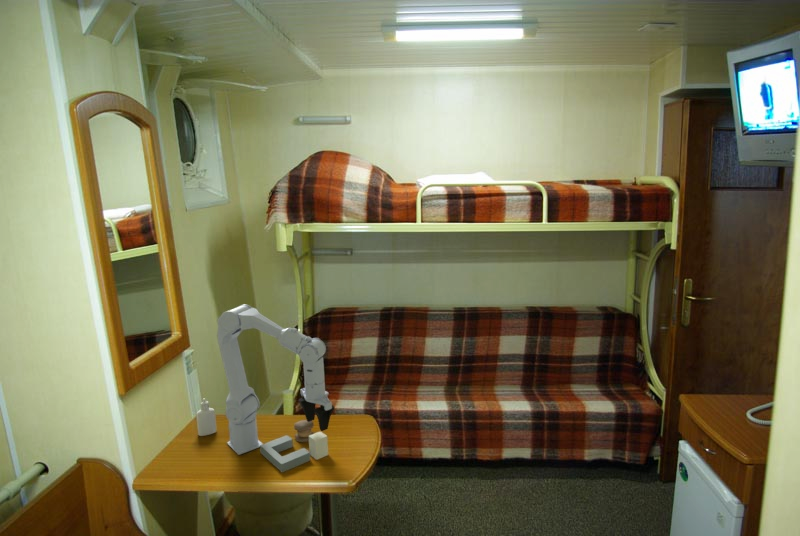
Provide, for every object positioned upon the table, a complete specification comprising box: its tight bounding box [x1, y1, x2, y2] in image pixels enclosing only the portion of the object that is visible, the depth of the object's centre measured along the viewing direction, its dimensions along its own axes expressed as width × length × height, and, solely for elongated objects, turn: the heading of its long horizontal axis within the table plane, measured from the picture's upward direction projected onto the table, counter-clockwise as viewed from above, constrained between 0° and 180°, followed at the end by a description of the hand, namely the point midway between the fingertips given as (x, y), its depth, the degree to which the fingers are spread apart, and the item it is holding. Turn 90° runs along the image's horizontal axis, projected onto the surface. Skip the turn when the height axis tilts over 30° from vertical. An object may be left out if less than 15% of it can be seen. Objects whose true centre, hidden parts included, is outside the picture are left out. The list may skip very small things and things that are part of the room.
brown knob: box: [293, 419, 315, 443], centre depth 154 cm, size 6×6×4 cm
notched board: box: [259, 434, 311, 473], centre depth 144 cm, size 14×9×2 cm, turn 40°
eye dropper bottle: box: [195, 397, 217, 437], centre depth 159 cm, size 4×6×12 cm
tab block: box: [308, 431, 329, 461], centre depth 144 cm, size 4×4×6 cm
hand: (317, 425), depth 143 cm, fingers open, 7 cm apart
